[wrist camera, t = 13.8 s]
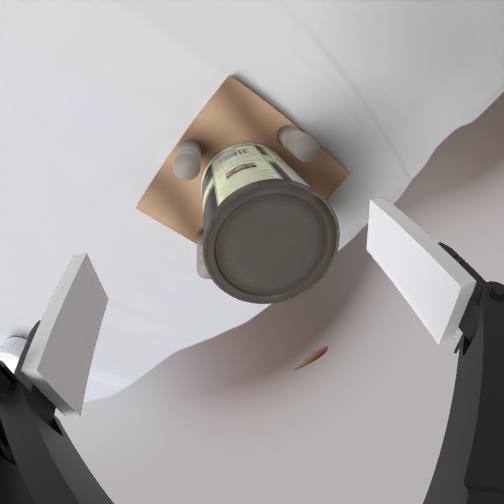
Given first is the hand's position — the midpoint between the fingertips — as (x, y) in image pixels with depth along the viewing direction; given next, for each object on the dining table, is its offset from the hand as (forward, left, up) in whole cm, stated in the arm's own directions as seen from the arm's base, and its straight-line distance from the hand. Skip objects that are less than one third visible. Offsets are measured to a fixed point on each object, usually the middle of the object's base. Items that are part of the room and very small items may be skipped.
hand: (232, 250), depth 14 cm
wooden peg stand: (+2, +6, -23) cm, 23 cm away
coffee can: (+1, +6, -22) cm, 22 cm away
